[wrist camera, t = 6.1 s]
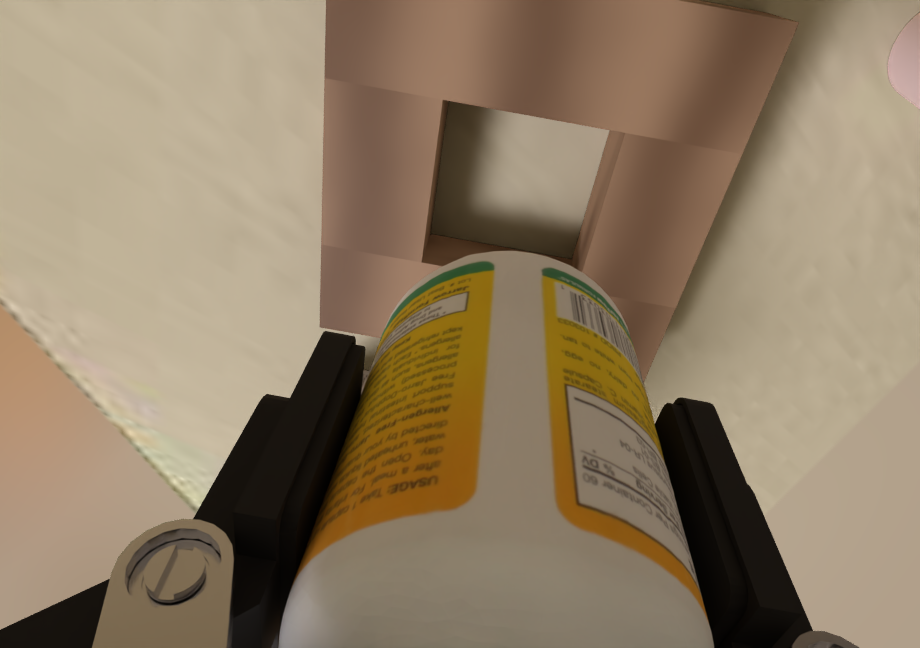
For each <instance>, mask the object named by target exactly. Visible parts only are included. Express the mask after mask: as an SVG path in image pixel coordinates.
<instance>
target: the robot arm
mask: <svg viewBox="0 0 920 648" xmlns="http://www.w3.org/2000/svg"><path fill="white" fill-rule="evenodd" d="M364 359H365V346H360V345H356V339H355V337H354V336H349V335H344V334H339V333H333V332H328V331H325V332H323V334H322V336H321V338H320V340H319V342H318V344H317V346H316V348H315V350H314V352H313V354H312V356H311V358H310V360H309V362H308V364H307V365H306V367H305V369H304V371H303V373H302V375H301V377H300V379H299V381H298V383H297V385H296V387H295V389H294V391H293V393H292V395H291V397H290V398H286V397H280V396H275V395H269V394H266V395H265V396H264V397H263V398H262V399H261V401H260V402H259V404H258V405H257V407H256V409H255V411H254V412H253V414H252V416H251V418H250V419H249V421H248V423H247V425H246V427H245V428H244V430H243V432H242V434H241V435H240V437H239V439H238V441H237V442H236V444H235V446H234V448H233V449H232V451H231V453H230V455H229V457H228V458H227V460H226V462H225V464H224V465H223V467H222V469H221V471H220V472H219V474H218V476H217V478H216V480H215V481H214V483H213V485H212V487H211V488H210V490H209V492H208V494H207V495H206V497H205V499H204V501H203V502H202V504H201V506H200V508H199V510H198V511H197V513H196V515H195V517H194V518H193V519H181V520H175V521H170V522H165V523H162V524H160V525H158V526H156V527H153V528H151V529H149V530H147V531H145V532H144V533H143V534H141V535H140V536H139V537H137V538H136V539H135V540H133V541H132V542H131V543H130V544H129V545H128V546H127V547H126V548H125V550H124V551H123V552H122V553H121V555H120V556H119V557H118V559H117V562H116V564H115V566H114V568H113V570H112V573H111V577H110V579H108V580H106V581H104V582H102V583H100V584H98V585H95V586H93V587H91V588H89V589H87V590H85V591H82V592H80V593H78V594H76V595H74V596H72V597H70V598H68V599H65V600H63V601H61V602H59V603H57V604H55V605H52V606H50V607H48V608H46V609H44V610H42V611H40V612H38V613H35V614H33V615H31V616H29V617H27V618H25V619H22V620H20V621H18V622H16V623H14V624H12V625H9V626H7V627H5V628H3V629H1V630H0V648H279V634H280V628H281V623H282V618H283V613H284V610H285V606H286V603H287V599H288V596H289V593H290V590H291V587H292V584H293V582H294V579H295V576H296V573H297V570H298V568H299V565H300V563H301V560H302V557H303V555H304V552H305V549H306V546H307V543H308V541H309V538H310V535H311V532H312V529H313V526H314V524H315V521H316V518H317V515H318V512H319V510H320V508H321V505H322V502H323V499H324V496H325V493H326V491H327V488H328V486H329V483H330V480H331V477H332V475H333V472H334V469H335V467H336V464H337V461H338V458H339V455H340V452H341V449H342V447H343V444H344V442H345V439H346V436H347V433H348V430H349V427H350V425H351V422H352V419H353V417H354V413H355V410H356V408H357V405H358V403H359V400H360V397H361V390H362V380H363V369H364ZM655 428H656V431H657V435H658V438H659V442H660V446H661V450H662V454H663V458H664V461H665V465H666V468H667V471H668V474H669V478H670V482H671V485H672V488H673V491H674V496H675V500H676V504H677V508H678V511H679V515H680V518H681V522H682V526H683V529H684V533H685V536H686V540H687V544H688V547H689V551H690V555H691V558H692V562H693V566H694V569H695V573H696V577H697V581H698V584H699V588H700V592H701V596H702V599H703V603H704V607H705V611H706V614H707V618H708V622H709V625H710V629H711V633H712V638H713V643H714V648H859V647H857V646H856V645H854V644H852V643H851V642H849V641H847V640H845V639H844V638H842V637H840V636H837V635H833V634H830V633H828V632H825V631H813V630H812V627H811V625H810V623H809V620H808V618H807V616H806V613H805V611H804V609H803V606H802V604H801V602H800V599H799V597H798V595H797V592H796V590H795V588H794V585H793V583H792V581H791V578H790V576H789V574H788V571H787V569H786V567H785V564H784V562H783V560H782V557H781V555H780V553H779V550H778V548H777V546H776V543H775V541H774V539H773V536H772V534H771V532H770V529H769V527H768V525H767V522H766V520H765V517H764V515H763V513H762V510H761V508H760V506H759V503H758V501H757V499H756V496H755V494H754V492H753V491H752V489H751V487H750V486H749V485H748V484H747V483H746V480H745V478H744V476H743V473H742V471H741V469H740V466H739V464H738V461H737V459H736V457H735V454H734V452H733V450H732V447H731V445H730V442H729V440H728V438H727V435H726V433H725V431H724V428H723V426H722V423H721V421H720V419H719V416H718V414H717V412H716V409H715V407H714V406H713V404H711V403H708V402H703V401H697V400H692V399H687V398H678V399H677V400H675V402H674V403H673V404H671V403H667V404H665V405H664V407H663V409H662V411H661V413H660V415H659V417H658V419H657V421H656V423H655Z"/></svg>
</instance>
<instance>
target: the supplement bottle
mask: <svg viewBox="0 0 920 648" xmlns="http://www.w3.org/2000/svg"><path fill="white" fill-rule="evenodd" d="M279 648H714V643H713V638H712V633H711V629H710V625H709V622H708V618H707V614H706V611H705V607H704V603H703V599H702V596H701V592H700V588H699V584H698V581H697V577H696V573H695V569H694V566H693V562H692V558H691V555H690V551H689V547H688V544H687V540H686V536H685V533H684V529H683V526H682V522H681V518H680V515H679V511H678V508H677V504H676V500H675V496H674V491H673V488H672V485H671V482H670V478H669V474H668V471H667V468H666V465H665V461H664V458H663V454H662V450H661V446H660V442H659V438H658V435H657V431H656V428H655V424H654V420H653V416H652V412H651V409H650V405H649V401H648V397H647V394H646V391H645V387H644V383H643V379H642V375H641V371H640V368H639V364H638V360H637V356H636V353H635V350H634V346H633V343H632V340H631V338H630V335H629V331H628V328H627V325H626V323H625V321H624V319H623V317H622V315H621V313H620V312H619V310H618V308H617V307H616V305H615V304H614V302H613V301H612V300H611V299H610V297H609V296H608V295H607V294H606V293H605V292H604V291H603V289H602V288H601V287H600V286H599V285H597V284H596V283H595V282H594V281H593V280H592V279H590V278H589V277H588V276H586V275H585V274H584V273H582V272H580V271H579V270H577V269H575V268H574V267H572V266H570V265H568V264H565V263H563V262H560V261H558V260H555V259H552V258H549V257H546V256H542V255H538V254H534V253H527V252H520V251H493V252H486V253H478V254H472V255H468V256H465V257H463V258H460V259H458V260H456V261H453V262H451V263H449V264H447V265H445V266H442V267H440V268H439V269H437V270H435V271H434V272H432V273H430V274H429V275H427V276H426V277H424V278H423V279H422V280H420V281H419V282H418V283H416V284H415V285H414V286H413V287H412V288H411V289H410V290H409V291H408V292H407V293H406V294H405V295H404V296H403V297H402V299H401V300H400V301H399V303H398V304H397V306H396V307H395V309H394V310H393V312H392V314H391V316H390V318H389V320H388V322H387V325H386V327H385V329H384V331H383V333H382V336H381V340H380V343H379V346H378V349H377V351H376V355H375V357H374V361H373V364H372V366H371V368H370V371H369V374H368V377H367V380H366V383H365V386H364V389H363V392H362V394H361V397H360V400H359V403H358V405H357V408H356V410H355V413H354V417H353V419H352V422H351V425H350V427H349V430H348V433H347V436H346V439H345V442H344V444H343V447H342V449H341V452H340V455H339V458H338V461H337V464H336V467H335V469H334V472H333V475H332V477H331V480H330V483H329V486H328V488H327V491H326V493H325V496H324V499H323V502H322V505H321V508H320V510H319V512H318V515H317V518H316V521H315V524H314V526H313V529H312V532H311V535H310V538H309V541H308V543H307V546H306V549H305V552H304V555H303V557H302V560H301V563H300V565H299V568H298V570H297V573H296V576H295V579H294V582H293V584H292V587H291V590H290V593H289V596H288V599H287V603H286V606H285V610H284V613H283V618H282V623H281V628H280V634H279Z"/></svg>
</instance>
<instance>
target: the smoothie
mask: <svg viewBox="0 0 920 648" xmlns="http://www.w3.org/2000/svg"><path fill="white" fill-rule="evenodd" d="M888 76H889V79H890V82H891V84H892V86H893V88H894V89H895V90H896V91H897V92H898V93H899V94H900V95H902V96H903V97H904V98H906V99H907V100H908V101H910V102H911V103H912V104H913V105H915V106H916V107H917V108H919V109H920V12H919V13H918V14H917V15H916V16H915V17H914V18H912V19H911V20H910V21H909V22H908V24H907V25H906V26H905V27H904V28H903V30H902V31H901V32H900V34H899V35H898V37H897V39H896V41H895V42H894V45H893V47H892V49H891V52H890V56H889V60H888Z"/></svg>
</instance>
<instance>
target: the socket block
mask: <svg viewBox="0 0 920 648" xmlns="http://www.w3.org/2000/svg"><path fill="white" fill-rule="evenodd" d="M798 24H799V22H796V21H792V20H789V19H786V18H782V17H779V16H776V15H772V14H769V13H765V12H759V11H754V10H748V9H743V8H738V7H732V6H727V5H721V4H716V3H711V2H705V1H700V0H326V36H325V87H324V137H323V188H322V238H321V289H320V327H321V328H327V329H333V330H338V331H344V332H350V333H355V334H361V335H367V336H372V337H378V338H381V336H382V333H383V331H384V329H385V327H386V325H387V322H388V320H389V318H390V316H391V314H392V312H393V310H394V309H395V307H396V306H397V304H398V303H399V301H400V300H401V299H402V297H403V296H404V295H405V294H406V293H407V292H408V291H409V290H410V289H411V288H412V287H413V286H414V285H415V284H416V283H418V282H419V281H420V280H422V279H423V278H424V277H426V276H427V275H429V274H430V273H432V272H434V271H435V270H437V269H439V268H440V267H442V266H445V265H447V264H449V263H451V262H453V261H456V260H458V259H460V258H463V257H465V256H468V255H472V254H478V253H486V252H493V251H520V252H527V253H534V252H528V251H523V250H517V249H511V248H506V247H500V246H495V245H489V244H484V243H478V242H473V241H467V240H461V239H456V238H450V237H445V236H439V235H434V234H430V233H431V226H432V219H433V211H434V204H435V197H436V189H437V182H438V175H439V167H440V160H441V153H442V145H443V138H444V130H445V123H446V116H447V108H448V101H453V102H458V103H464V104H469V105H475V106H480V107H486V108H491V109H497V110H502V111H508V112H513V113H519V114H524V115H530V116H535V117H541V118H546V119H552V120H557V121H563V122H568V123H574V124H579V125H585V126H590V127H596V128H601V129H607V130H610V132H609V135H608V138H607V142H606V145H605V148H604V152H603V155H602V159H601V162H600V165H599V169H598V172H597V176H596V179H595V182H594V186H593V189H592V193H591V196H590V199H589V203H588V206H587V210H586V213H585V216H584V220H583V223H582V226H581V230H580V233H579V237H578V240H577V243H576V247H575V250H574V254H573V257H572V259H567V258H562V257H556V256H550V255H545V254H539V253H534V254H538V255H542V256H546V257H549V258H552V259H555V260H558V261H560V262H563V263H565V264H568V265H570V266H572V267H574V268H575V269H577V270H579V271H580V272H582V273H584V274H585V275H586V276H588V277H589V278H590V279H592V280H593V281H594V282H595V283H596V284H597V285H599V286H600V287H601V288H602V289H603V291H604V292H605V293H606V294H607V295H608V296H609V297H610V299H611V300H612V301H613V302H614V304H615V305H616V307H617V308H618V310H619V312H620V313H621V315H622V317H623V319H624V321H625V323H626V325H627V328H628V331H629V335H630V338H631V340H632V343H633V346H634V350H635V353H636V356H637V360H638V364H639V368H640V371H641V375H642V379H643V383H644V380H645V378H646V376H647V373H648V371H649V369H650V367H651V364H652V362H653V360H654V357H655V355H656V353H657V350H658V348H659V346H660V343H661V341H662V339H663V336H664V334H665V332H666V330H667V327H668V325H669V323H670V320H671V318H672V316H673V313H674V311H675V309H676V306H677V304H678V302H679V299H680V297H681V295H682V293H683V290H684V288H685V286H686V283H687V281H688V279H689V276H690V274H691V272H692V269H693V267H694V265H695V262H696V260H697V258H698V255H699V253H700V251H701V249H702V246H703V244H704V242H705V239H706V237H707V235H708V232H709V230H710V228H711V225H712V223H713V221H714V218H715V216H716V214H717V212H718V209H719V207H720V205H721V202H722V200H723V198H724V195H725V193H726V191H727V188H728V186H729V184H730V181H731V179H732V177H733V175H734V172H735V170H736V168H737V165H738V163H739V161H740V158H741V156H742V154H743V151H744V149H745V147H746V144H747V142H748V140H749V138H750V135H751V133H752V131H753V128H754V126H755V124H756V121H757V119H758V117H759V114H760V112H761V110H762V107H763V105H764V103H765V100H766V98H767V96H768V94H769V91H770V89H771V87H772V84H773V82H774V80H775V77H776V75H777V73H778V70H779V68H780V66H781V63H782V61H783V59H784V57H785V54H786V52H787V50H788V47H789V45H790V43H791V40H792V38H793V36H794V33H795V31H796V29H797V26H798Z"/></svg>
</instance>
